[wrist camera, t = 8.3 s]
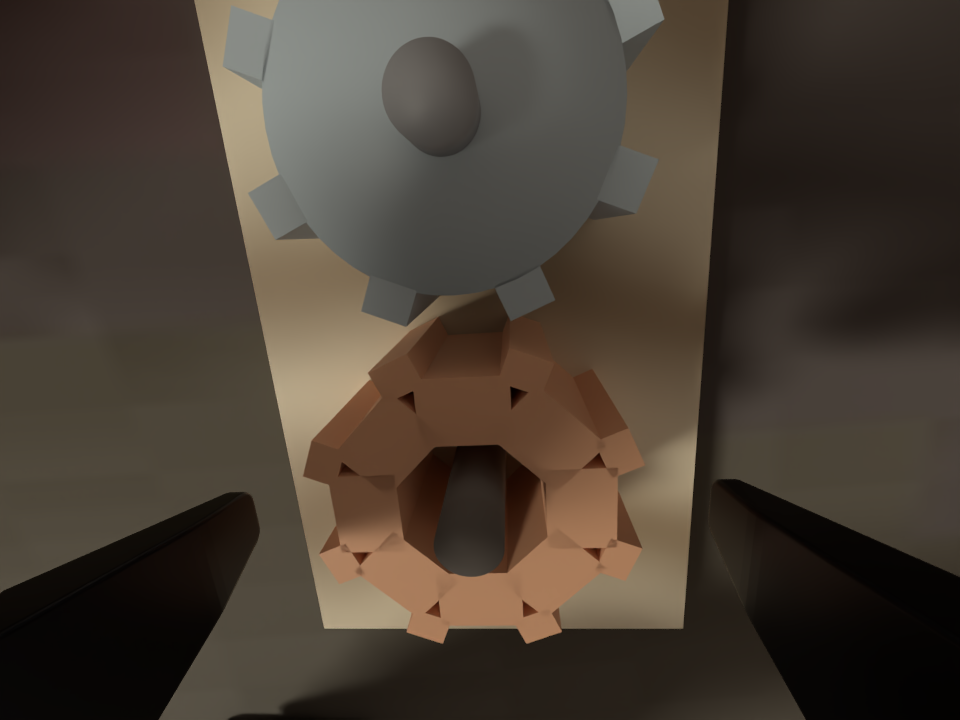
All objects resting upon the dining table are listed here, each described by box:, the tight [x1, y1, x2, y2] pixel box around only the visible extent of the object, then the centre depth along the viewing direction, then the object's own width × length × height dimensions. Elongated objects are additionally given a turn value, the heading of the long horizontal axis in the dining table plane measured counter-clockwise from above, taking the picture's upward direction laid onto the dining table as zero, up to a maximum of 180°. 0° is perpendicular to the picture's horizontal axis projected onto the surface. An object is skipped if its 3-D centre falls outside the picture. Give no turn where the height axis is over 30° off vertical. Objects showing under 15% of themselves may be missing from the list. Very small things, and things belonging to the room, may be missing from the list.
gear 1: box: [223, 0, 664, 327], centre depth 8 cm, size 6×6×4 cm
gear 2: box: [303, 316, 645, 644], centre depth 10 cm, size 6×6×4 cm
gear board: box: [194, 0, 729, 629], centre depth 9 cm, size 20×11×6 cm, turn 4°
